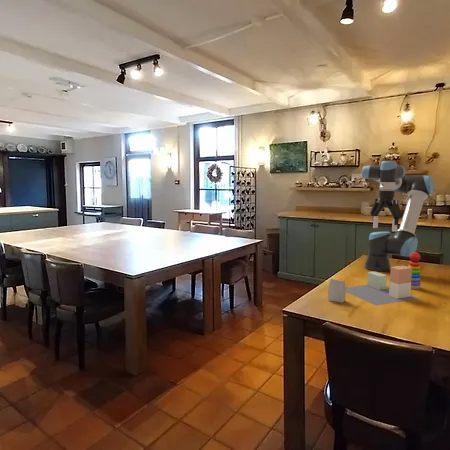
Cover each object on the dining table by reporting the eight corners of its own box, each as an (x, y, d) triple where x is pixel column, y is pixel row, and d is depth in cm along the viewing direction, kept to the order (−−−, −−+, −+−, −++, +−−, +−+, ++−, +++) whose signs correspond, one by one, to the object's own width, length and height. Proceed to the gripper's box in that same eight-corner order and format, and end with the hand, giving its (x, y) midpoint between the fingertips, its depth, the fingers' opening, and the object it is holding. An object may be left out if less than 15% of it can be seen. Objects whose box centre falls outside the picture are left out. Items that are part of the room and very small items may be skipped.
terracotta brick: (398, 284, 170) (399, 269, 169) (389, 281, 175) (390, 267, 174) (411, 282, 173) (412, 268, 172) (402, 279, 178) (403, 265, 177)
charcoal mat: (338, 289, 187) (338, 288, 187) (378, 283, 196) (378, 283, 196) (375, 306, 163) (375, 305, 162) (419, 299, 172) (419, 298, 172)
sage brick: (367, 285, 192) (367, 272, 191) (374, 284, 194) (375, 271, 193) (378, 289, 184) (379, 276, 183) (386, 288, 186) (386, 275, 185)
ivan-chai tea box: (341, 303, 166) (342, 282, 165) (327, 300, 170) (328, 279, 169) (345, 301, 169) (346, 280, 167) (331, 298, 173) (332, 277, 172)
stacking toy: (401, 287, 190) (404, 252, 187) (406, 284, 195) (408, 249, 193) (418, 290, 184) (420, 254, 182) (422, 287, 190) (425, 252, 187)
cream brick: (397, 298, 171) (398, 284, 170) (389, 295, 176) (389, 281, 175) (410, 296, 174) (411, 282, 173) (401, 293, 179) (402, 279, 178)
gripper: (364, 189, 205) (362, 226, 208) (400, 191, 182) (397, 233, 185) (375, 189, 208) (373, 226, 211) (411, 191, 185) (408, 232, 187)
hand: (384, 229), depth 198 cm, fingers open, 13 cm apart
